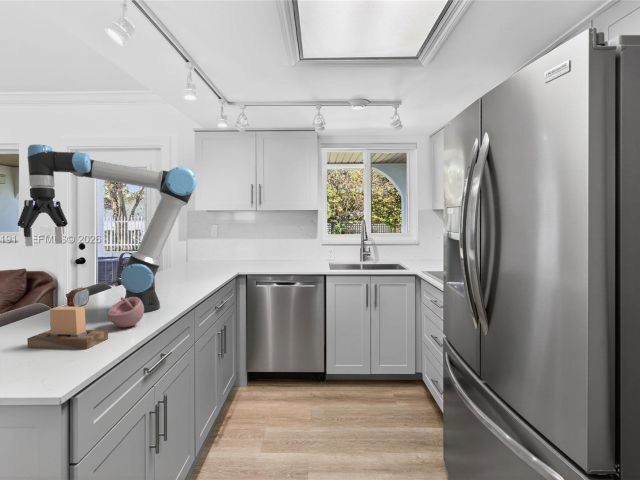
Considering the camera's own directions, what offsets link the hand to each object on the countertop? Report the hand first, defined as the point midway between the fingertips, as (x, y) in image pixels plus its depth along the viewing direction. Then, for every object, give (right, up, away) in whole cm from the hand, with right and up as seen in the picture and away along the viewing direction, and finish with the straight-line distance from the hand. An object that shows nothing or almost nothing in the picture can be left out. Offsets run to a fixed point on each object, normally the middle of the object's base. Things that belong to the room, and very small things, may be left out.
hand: (45, 244), depth 144 cm
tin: (-8, -29, +34) cm, 45 cm away
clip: (+21, -32, -19) cm, 43 cm away
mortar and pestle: (+31, -31, -1) cm, 44 cm away
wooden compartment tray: (+22, -32, -19) cm, 43 cm away
